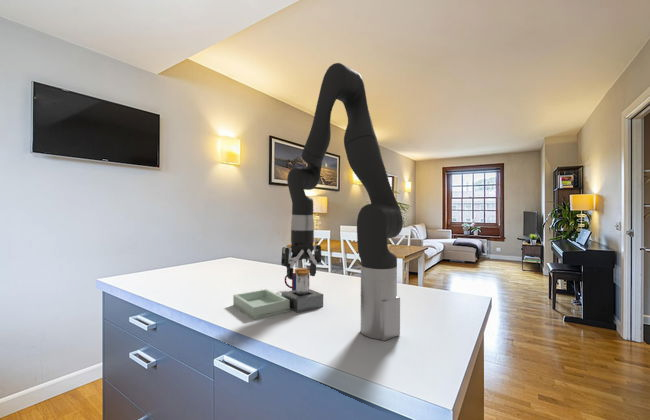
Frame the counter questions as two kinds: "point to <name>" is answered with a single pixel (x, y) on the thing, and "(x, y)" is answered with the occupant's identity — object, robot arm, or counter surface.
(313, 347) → the counter surface
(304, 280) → the pin
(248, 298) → the tray
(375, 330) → the robot arm
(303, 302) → the block
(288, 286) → the mug
